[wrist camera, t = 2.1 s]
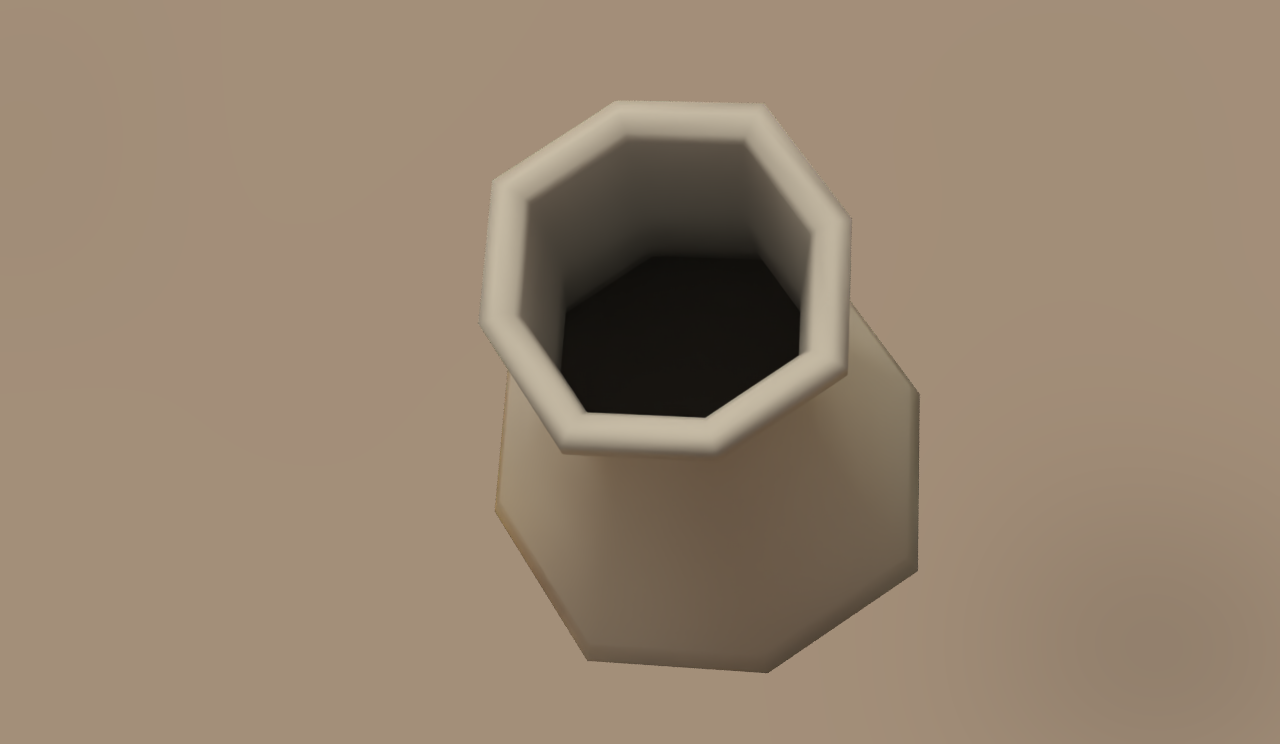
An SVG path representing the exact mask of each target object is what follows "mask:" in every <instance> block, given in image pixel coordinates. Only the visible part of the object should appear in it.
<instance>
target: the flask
mask: <svg viewBox="0 0 1280 744" xmlns="http://www.w3.org/2000/svg"><path fill="white" fill-rule="evenodd" d="M851 233H852V218H851V217H850V215H849V214H848V213H847V212H846V210H845V209H844V208H843V206H842V205H841V204H840V202H839V201H838V200H837V198H836V197H835V196H834V195H833V193H832V192H831V190H830V189H829V188H828V187H827V185H826V184H825V183H824V181H823V180H822V179H821V178H820V176H819V175H818V173H817V172H816V171H815V170H814V168H813V167H812V166H811V164H810V163H809V162H808V160H807V159H806V158H805V156H804V155H803V154H802V152H801V151H800V150H799V149H798V147H797V146H796V145H795V143H794V142H793V141H792V139H791V138H790V137H789V135H788V134H787V133H786V132H785V130H784V129H783V128H782V126H781V125H780V124H779V122H778V121H777V120H776V118H775V117H774V116H773V114H772V113H771V112H770V111H769V109H768V108H767V107H766V105H765V104H764V103H723V102H665V101H615V102H613V103H612V104H610V105H609V106H607V107H605V108H604V109H602V110H601V111H599V112H598V113H596V114H594V115H593V116H591V117H590V118H589V119H587V120H585V121H584V122H582V123H581V124H579V125H578V126H576V127H574V128H573V129H571V130H570V131H568V132H567V133H565V134H564V135H562V136H560V137H559V138H557V139H556V140H554V141H553V142H551V143H550V144H548V145H547V146H545V147H544V148H542V149H540V150H539V151H537V152H536V153H534V154H533V155H531V156H530V157H528V158H526V159H525V160H523V161H522V162H520V163H519V164H517V165H516V166H514V167H513V168H511V169H509V170H508V171H507V172H505V173H503V174H502V175H500V176H499V177H497V178H496V179H494V180H493V181H492V188H491V199H490V210H489V219H488V229H487V240H486V250H485V260H484V270H483V282H482V291H481V302H480V312H479V322H478V324H479V325H480V327H481V329H482V330H483V332H484V333H485V335H486V337H487V338H488V340H489V341H490V343H491V344H492V346H493V347H494V349H495V351H496V352H497V354H498V355H499V357H500V358H501V360H502V361H503V363H504V364H505V366H506V368H507V369H508V371H507V383H506V393H505V404H504V416H503V427H502V437H501V449H500V459H499V470H498V481H497V492H496V503H495V512H496V514H497V516H498V517H499V519H500V520H501V522H502V524H503V525H504V527H505V529H506V530H507V532H508V533H509V535H510V537H511V538H512V540H513V541H514V543H515V545H516V546H517V548H518V550H519V551H520V553H521V554H522V556H523V558H524V559H525V561H526V562H527V564H528V566H529V567H530V569H531V570H532V572H533V574H534V575H535V577H536V578H537V580H538V582H539V583H540V585H541V587H542V588H543V590H544V591H545V593H546V595H547V596H548V598H549V599H550V601H551V603H552V604H553V606H554V608H555V609H556V611H557V612H558V614H559V616H560V617H561V619H562V621H563V622H564V624H565V625H566V627H567V628H568V630H569V632H570V633H571V635H572V637H573V638H574V640H575V642H576V643H577V645H578V646H579V648H580V650H581V651H582V653H583V655H584V656H585V658H586V659H587V661H601V662H614V663H629V664H644V665H658V666H672V667H688V668H702V669H716V670H731V671H745V672H761V673H769V672H770V671H772V670H773V669H774V668H776V667H777V666H779V665H780V664H782V663H783V662H785V661H786V660H788V659H789V658H791V657H792V656H793V655H795V654H796V653H798V652H799V651H801V650H802V649H804V648H805V647H807V646H808V645H810V644H811V643H812V642H814V641H816V640H817V639H819V638H820V637H821V636H823V635H824V634H826V633H827V632H829V631H830V630H832V629H833V628H835V627H836V626H838V625H839V624H841V623H842V622H843V621H845V620H846V619H848V618H849V617H851V616H852V615H853V614H855V613H857V612H858V611H860V610H861V609H862V608H864V607H865V606H867V605H868V604H870V603H871V602H873V601H874V600H876V599H877V598H879V597H880V596H881V595H883V594H885V593H886V592H888V591H889V590H890V589H892V588H893V587H895V586H896V585H898V584H899V583H901V582H902V581H904V580H905V579H906V578H908V577H909V576H911V575H912V574H914V573H915V572H917V571H918V495H919V402H920V401H919V400H920V399H919V396H920V395H919V392H917V390H916V388H915V387H914V386H913V384H912V383H911V382H910V380H909V379H908V378H907V376H906V375H905V374H904V372H903V371H902V370H901V368H900V367H899V366H898V364H897V363H896V361H895V360H894V359H893V357H892V356H891V355H890V353H889V352H888V351H887V349H886V348H885V347H884V345H883V344H882V343H881V341H880V340H879V339H878V337H877V336H876V335H875V333H874V332H873V331H872V329H871V328H870V327H869V325H868V324H867V323H866V321H865V320H864V319H863V317H862V316H861V315H860V313H859V312H858V311H857V309H856V308H855V307H854V305H853V304H852V303H851V301H850V274H851Z"/></svg>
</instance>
